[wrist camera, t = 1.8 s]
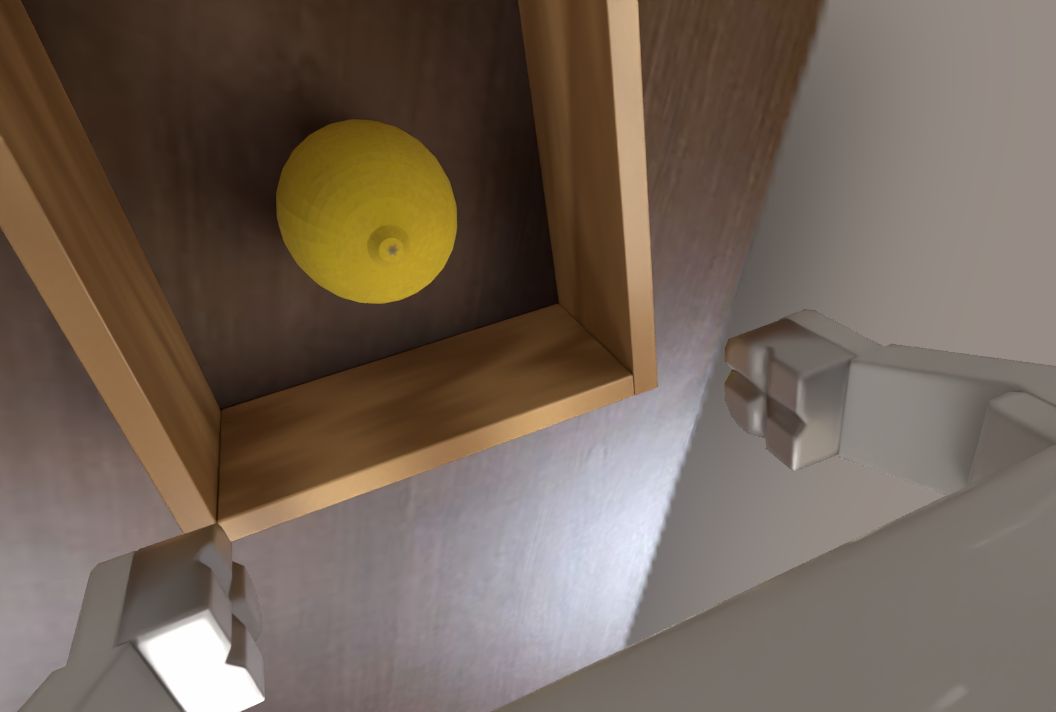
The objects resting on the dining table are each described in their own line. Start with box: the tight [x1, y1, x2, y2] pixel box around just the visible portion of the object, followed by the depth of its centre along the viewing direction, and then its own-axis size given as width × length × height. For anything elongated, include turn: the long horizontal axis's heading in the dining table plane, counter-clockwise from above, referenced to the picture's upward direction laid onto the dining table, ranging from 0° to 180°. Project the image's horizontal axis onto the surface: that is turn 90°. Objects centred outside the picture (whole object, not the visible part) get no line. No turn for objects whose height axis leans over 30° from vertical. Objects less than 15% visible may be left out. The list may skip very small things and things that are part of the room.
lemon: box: [276, 119, 457, 304], centre depth 21 cm, size 6×6×8 cm
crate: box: [0, 0, 658, 542], centre depth 22 cm, size 17×17×7 cm
